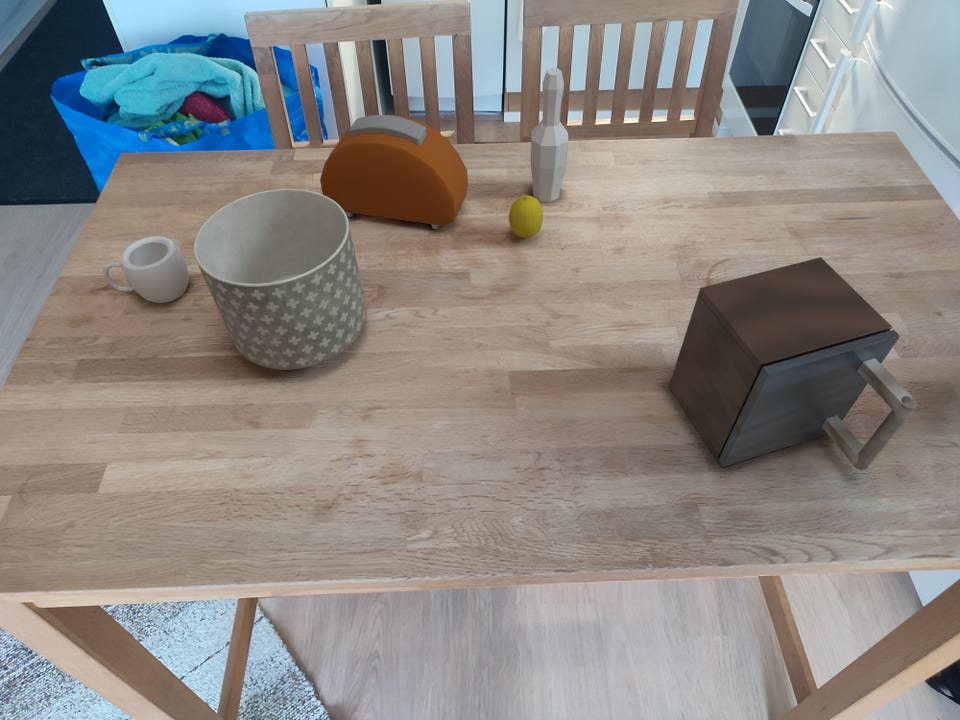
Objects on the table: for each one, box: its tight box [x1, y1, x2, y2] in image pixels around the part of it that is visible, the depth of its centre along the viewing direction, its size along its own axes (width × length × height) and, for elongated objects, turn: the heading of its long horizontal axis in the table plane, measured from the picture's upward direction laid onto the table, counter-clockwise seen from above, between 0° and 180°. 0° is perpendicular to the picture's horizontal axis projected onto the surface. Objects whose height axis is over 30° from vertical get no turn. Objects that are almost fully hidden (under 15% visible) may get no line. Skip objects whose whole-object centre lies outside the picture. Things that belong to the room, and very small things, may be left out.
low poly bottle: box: [530, 67, 569, 203], centre depth 108 cm, size 6×6×22 cm
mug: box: [102, 235, 190, 304], centre depth 99 cm, size 12×8×8 cm
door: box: [717, 329, 918, 471], centre depth 72 cm, size 8×16×18 cm, turn 108°
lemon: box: [508, 194, 544, 239], centre depth 106 cm, size 6×6×8 cm
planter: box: [193, 188, 368, 371], centre depth 89 cm, size 19×19×18 cm
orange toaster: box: [319, 114, 469, 230], centre depth 108 cm, size 23×9×17 cm, turn 76°
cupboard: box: [668, 257, 893, 460], centre depth 79 cm, size 12×16×18 cm
